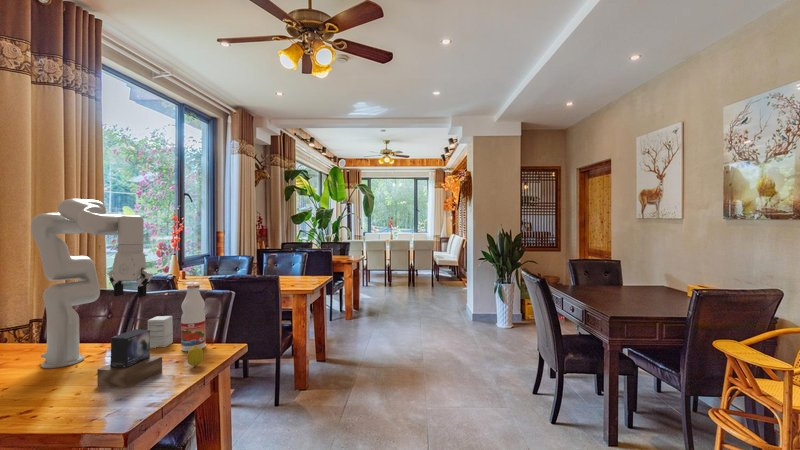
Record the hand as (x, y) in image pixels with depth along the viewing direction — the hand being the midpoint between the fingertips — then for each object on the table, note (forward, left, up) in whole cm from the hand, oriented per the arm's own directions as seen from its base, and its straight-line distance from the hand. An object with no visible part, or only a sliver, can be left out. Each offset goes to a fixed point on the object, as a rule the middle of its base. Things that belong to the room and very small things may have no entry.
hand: (130, 296), depth 133 cm
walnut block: (+3, -3, -29) cm, 29 cm away
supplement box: (-16, +32, -29) cm, 46 cm away
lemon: (+18, +10, -29) cm, 36 cm away
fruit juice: (+2, +30, -29) cm, 42 cm away
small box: (+3, -3, -23) cm, 24 cm away
